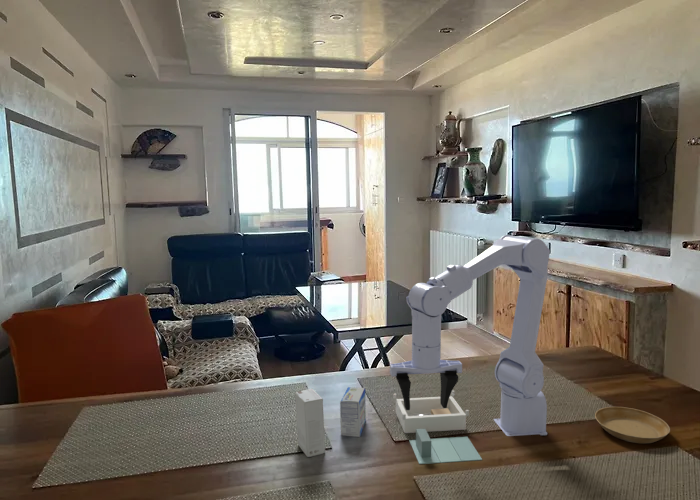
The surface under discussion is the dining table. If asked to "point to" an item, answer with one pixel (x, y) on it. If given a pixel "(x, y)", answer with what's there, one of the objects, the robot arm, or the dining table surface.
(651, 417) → the plant saucer
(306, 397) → the skincare box
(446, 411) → the oak block
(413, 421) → the tub
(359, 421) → the medicine box
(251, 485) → the dining table surface
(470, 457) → the three-panel mint board
